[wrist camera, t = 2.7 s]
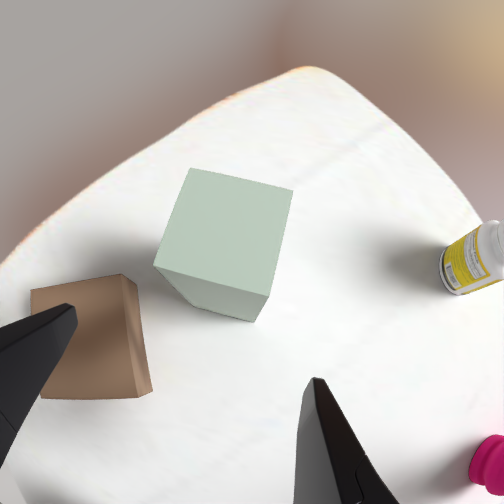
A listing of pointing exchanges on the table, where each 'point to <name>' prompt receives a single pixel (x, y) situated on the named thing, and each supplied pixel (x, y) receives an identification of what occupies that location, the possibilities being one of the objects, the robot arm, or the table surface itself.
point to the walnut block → (98, 341)
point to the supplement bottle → (474, 259)
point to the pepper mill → (489, 465)
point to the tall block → (224, 242)
